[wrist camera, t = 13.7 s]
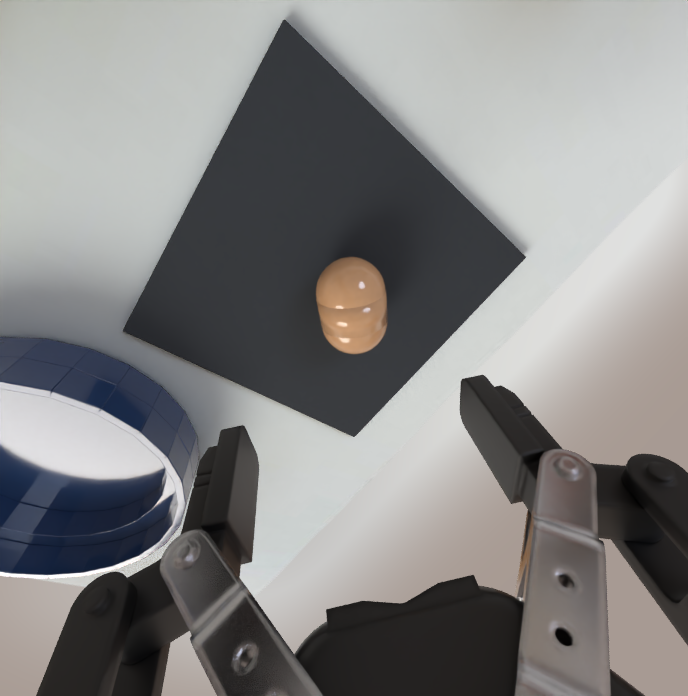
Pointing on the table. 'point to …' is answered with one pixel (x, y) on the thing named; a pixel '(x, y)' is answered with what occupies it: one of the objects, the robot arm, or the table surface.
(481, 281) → the mat
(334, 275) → the bread roll
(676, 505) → the robot arm
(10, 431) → the basin
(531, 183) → the table surface
